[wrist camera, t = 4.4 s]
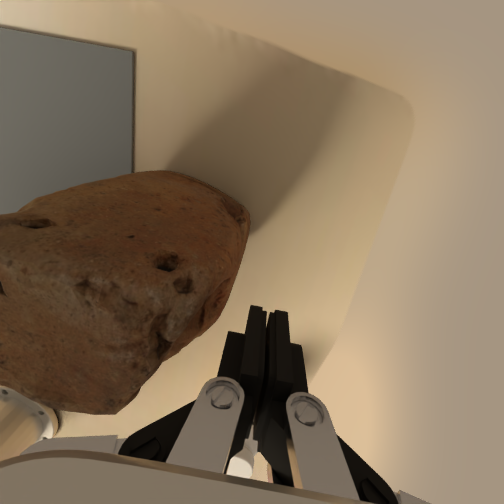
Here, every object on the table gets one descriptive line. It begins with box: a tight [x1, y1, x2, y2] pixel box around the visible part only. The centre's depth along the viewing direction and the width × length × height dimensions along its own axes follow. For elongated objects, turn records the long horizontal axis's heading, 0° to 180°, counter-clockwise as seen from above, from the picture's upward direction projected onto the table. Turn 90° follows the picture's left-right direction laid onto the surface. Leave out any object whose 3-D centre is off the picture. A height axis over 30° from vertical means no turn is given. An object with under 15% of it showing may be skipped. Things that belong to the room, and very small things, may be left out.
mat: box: [0, 27, 134, 214], centre depth 27 cm, size 22×23×1 cm
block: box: [0, 170, 250, 415], centre depth 19 cm, size 11×8×20 cm
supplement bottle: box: [227, 419, 258, 479], centre depth 32 cm, size 5×5×10 cm
